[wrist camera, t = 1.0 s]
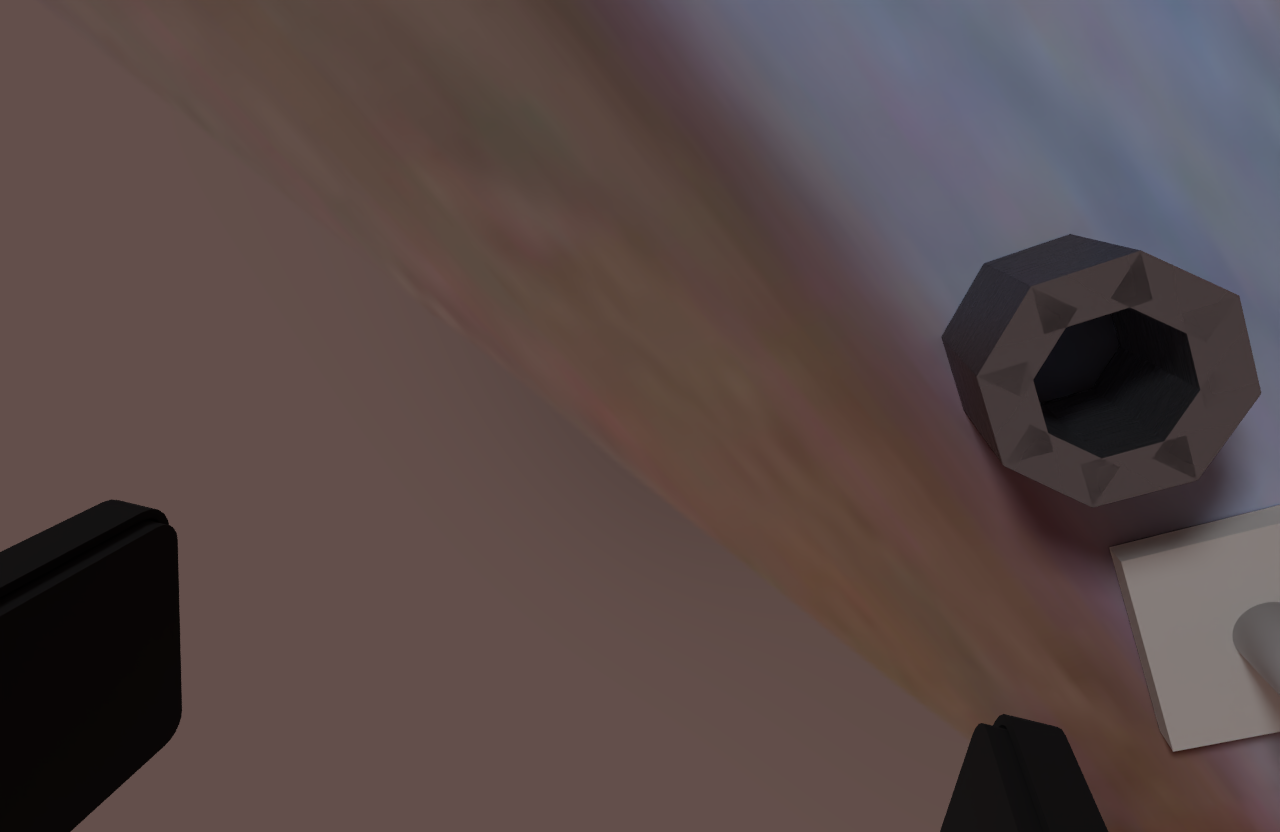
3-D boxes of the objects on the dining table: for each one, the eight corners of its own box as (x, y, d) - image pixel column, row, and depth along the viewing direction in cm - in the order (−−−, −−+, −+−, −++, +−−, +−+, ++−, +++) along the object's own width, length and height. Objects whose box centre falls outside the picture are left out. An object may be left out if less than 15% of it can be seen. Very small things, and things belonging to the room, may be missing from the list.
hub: (1134, 212, 28) (1223, 223, 22) (1181, 403, 29) (1276, 459, 23) (925, 283, 29) (956, 310, 24) (978, 460, 31) (1021, 526, 25)
